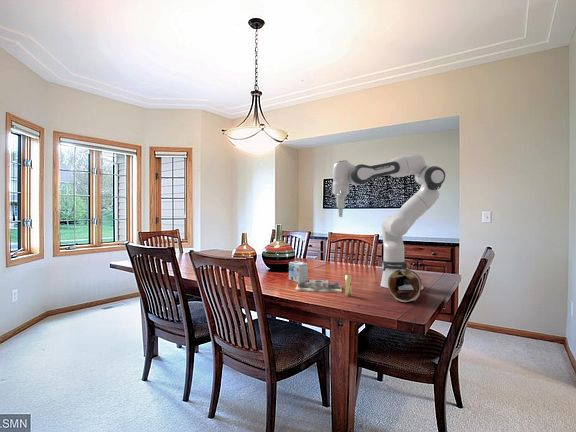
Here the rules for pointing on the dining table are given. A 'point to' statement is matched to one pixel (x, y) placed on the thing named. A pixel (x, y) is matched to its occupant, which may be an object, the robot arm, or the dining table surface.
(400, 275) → the clay pot
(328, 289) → the chain ends board
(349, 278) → the brass pin
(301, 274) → the light bulb box
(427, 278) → the dining table surface
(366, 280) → the dining table surface
